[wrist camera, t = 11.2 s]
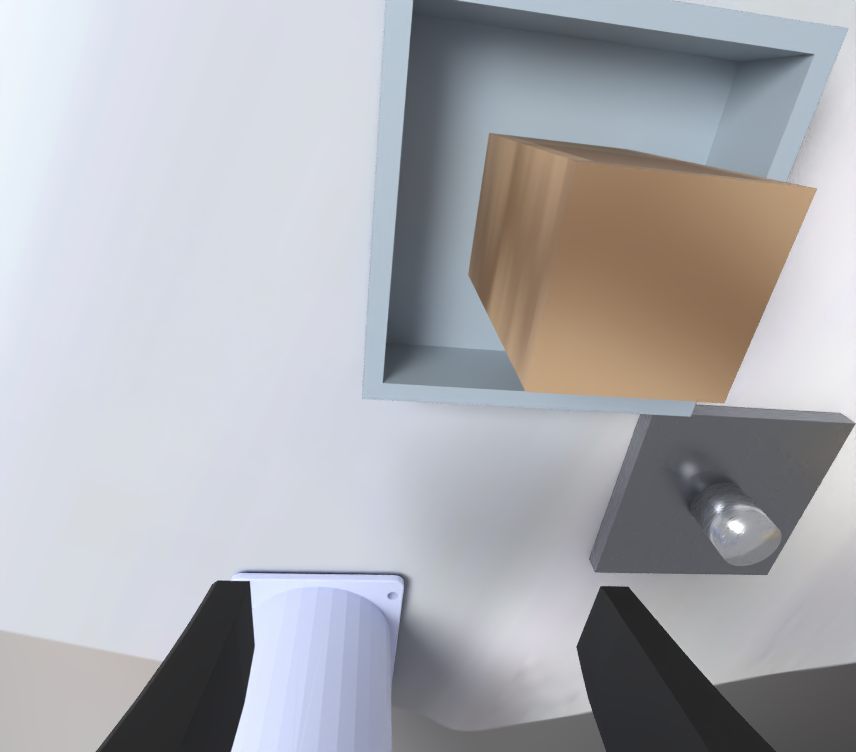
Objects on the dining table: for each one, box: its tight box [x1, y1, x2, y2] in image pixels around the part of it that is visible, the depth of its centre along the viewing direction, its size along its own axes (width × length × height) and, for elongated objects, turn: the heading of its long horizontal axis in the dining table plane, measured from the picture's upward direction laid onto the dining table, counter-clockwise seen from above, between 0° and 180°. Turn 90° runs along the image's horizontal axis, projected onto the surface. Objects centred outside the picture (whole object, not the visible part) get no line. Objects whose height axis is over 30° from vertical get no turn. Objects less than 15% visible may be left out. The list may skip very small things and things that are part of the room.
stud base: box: [589, 405, 856, 575], centre depth 22 cm, size 9×9×3 cm
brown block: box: [468, 133, 817, 403], centre depth 13 cm, size 4×4×8 cm
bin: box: [362, 0, 849, 417], centre depth 16 cm, size 11×11×4 cm
